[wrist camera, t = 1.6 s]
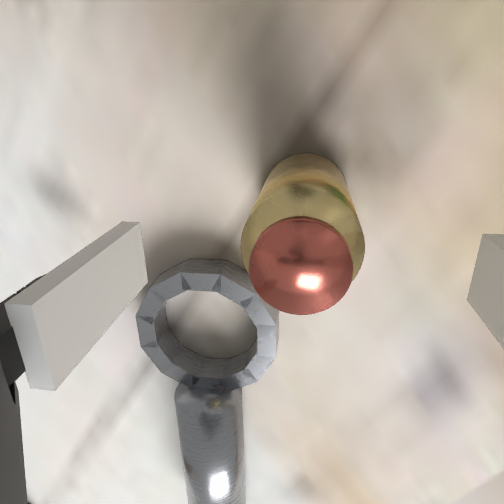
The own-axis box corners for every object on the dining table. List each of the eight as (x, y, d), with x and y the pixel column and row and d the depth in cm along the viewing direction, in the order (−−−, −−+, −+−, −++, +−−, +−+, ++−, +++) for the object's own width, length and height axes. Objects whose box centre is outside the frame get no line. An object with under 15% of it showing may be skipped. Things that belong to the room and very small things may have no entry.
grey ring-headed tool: (141, 256, 25) (107, 290, 21) (279, 262, 24) (272, 300, 20) (175, 491, 35) (157, 547, 31) (275, 505, 34) (270, 565, 29)
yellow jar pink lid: (263, 152, 21) (229, 202, 13) (350, 153, 21) (379, 206, 12) (263, 232, 23) (234, 324, 14) (343, 235, 23) (364, 333, 14)
